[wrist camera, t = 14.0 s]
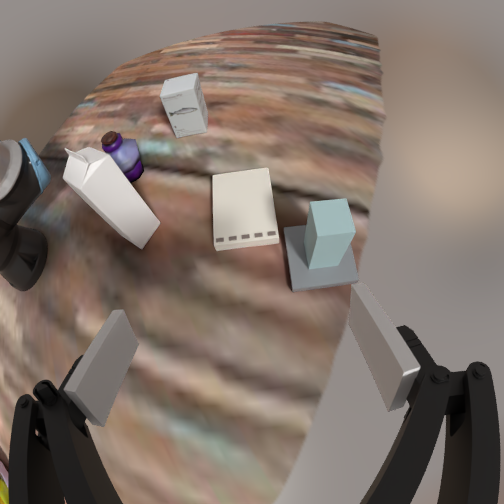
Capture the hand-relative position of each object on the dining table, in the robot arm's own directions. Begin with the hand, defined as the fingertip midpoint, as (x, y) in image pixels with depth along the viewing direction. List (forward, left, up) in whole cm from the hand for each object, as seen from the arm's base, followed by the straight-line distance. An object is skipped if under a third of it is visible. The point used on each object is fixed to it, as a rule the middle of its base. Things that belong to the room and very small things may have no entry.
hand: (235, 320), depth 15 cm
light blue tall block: (-6, +14, -23) cm, 28 cm away
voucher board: (-20, +9, -25) cm, 33 cm away
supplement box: (-47, +12, -25) cm, 55 cm away
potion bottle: (-43, -5, -25) cm, 50 cm away
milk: (-28, -8, -25) cm, 39 cm away
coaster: (-6, +15, -25) cm, 29 cm away
